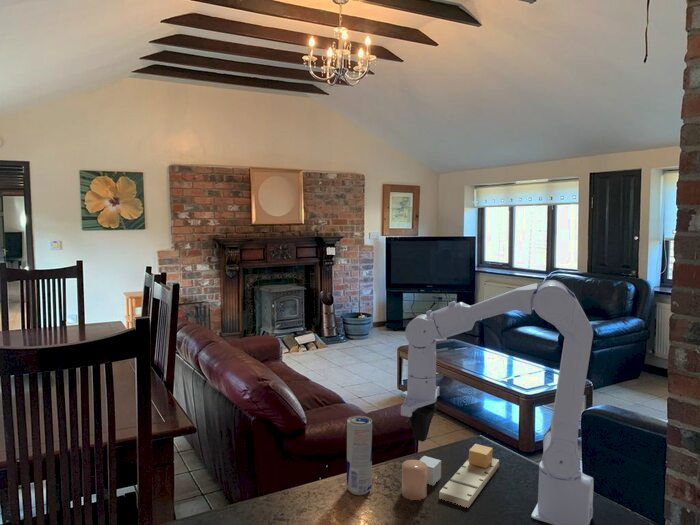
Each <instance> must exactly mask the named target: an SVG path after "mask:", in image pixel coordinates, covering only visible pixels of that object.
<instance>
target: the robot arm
mask: <svg viewBox="0 0 700 525" xmlns="http://www.w3.org/2000/svg"><path fill="white" fill-rule="evenodd" d="M447 305H448V306H445V307H441V308H439V309H436V310H433V311H432V309H430V310H429V309H428V310H427V311H425V314H424V313H423V314H419V315H417V316H415V318H413V319H411V321H410V322H409V323H407V325H406V328H405V331H404V332H405V338H406V340H407V342H408V351H407V386H406V387H407V390H405V391H403V392H402V393H401V396H402V398H403V397H404V401H403V403H402V404H401V405H400V416H402V417H407V418H408V420H409V421H410V425H411V430H412V435H413V438H414V440H416V441H420V442H424V441H426V440H427V439H428V435H429V431H430V426H431V423H432V420H433V418H434V415H435V413H436V411H437V409H438V404H436V402H437V400H438V399H437V398H438V397H439V396H440V386H437V385H436V384H437V340H444V339H447V338H450V337H453V336H456V335H459V334H462V333H465V332H469V331H472V330H473V328H474V326H475V323H476V322H478V321H481V320H485V319H488V318H492V317H495V316H498V315H504V314H506V313H509V312H513V311H519V312H521V313H525V314H529V315H532V311H533V309H534V311H535V313H536V314H537V315H538V316H539V318H541V319H543V320H545V321H546V322H548V323H550V324H551V325H553V326H554V327H555V328H556V330H558V332H559V333H560V334H561V335H562V336H563V337H564V338H563V339H564V340H563V345H562V346H563V347H562V352H561V358H560V365H559V373H558V377H557V385H556V390H555V391H556V392H555V397H554V404H553V409H552V410H553V411H552V416H551V419H550V424H549V427H548V428H547V430H545V432H544V433H543V436H542V444H543V445H542V446H543V447H542V448H543V452H542V458H541V461H540V462H539V465H538V467H539V468H538V487H537V488H538V489H537V490H538V491H537V492H538V493H537V495H538V496H537V503H536V505H535V507H534V509H533V511H532V513H531V515H530V516H531V518H532V519H534V520H537V521H540V522H544V523H547V524H550V525H590V523H591V520H592V519H593V516H594V506H593V503H594V502H593V501H594V480H595V479H594V477H592V476H590V475H587V474H585V473H584V472H582V470H581V459H580V455H579V448H578V447H579V427H580V426H579V425H580V419H581V412H582V407H583V400H584V395H585V394H584V393H585V387H586V382H587V375H588V370H589V362H590V359H591V358H590V357H591V350H592V344H593V338H594V329H593V327H592V324H591V322H590V321H589V319H588V317H587V315H586V313H585V311H584V309H583V308H582V306H581V304H580V302H579V300H578V299H577V297H576V294H575V293H574V292H573V291H571V290H570V289H569V288H568V287H567V286H566V284H564V283H563V282H561V281H559V280H555V279H548V280H545V281H543V282H541V283H540V284H539V283H538V282H537V283H531V284H528V285H524V286H520V287H516V288H514V289H511V290H509V291H507V292H503V293H500V294H497V295H495V296H493V297H490V298H487V299H485V300H482V301H479V302H476V303H474V304H471V305H470V304H467V303H465V302H463V301H459V302H456V301H455V300H453V301H450V302H449V303H448V304H447Z"/></svg>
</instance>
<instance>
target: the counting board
mask: <svg viewBox="0 0 700 525" xmlns="http://www.w3.org/2000/svg"><path fill="white" fill-rule="evenodd" d="M499 467H500V459H499V458H498V459H497V458H494V457H492V462H491V463H490V465H489V466H488V467H487V468H484V467H480V466H476V465H473V464H469V458H467V459H466V461H465V462H464V463H463V465H461V466H460V467H459V469H458V470H457V471H456V472H455V473H454V474H453V476H452V477H451V478H450V479H449V480H448V481H447V482H446V483H445V484H444V486H443V487H442V488H441V489H440V490H439V492H438V493H439V494H438V499H439V500H441V499H442V501H444V500H445V502H447V501H449V502H448V503H450V502H452V503H451V504H454V503H456V504H455V505H457V504H458V506H460V505H461V507H464V508H466V507H467V509H469V507H471V505H472V504H473V503H474V501H475V500H476V498H478V495H480V493H481V491H482V490H483V489H484V488H485V486H486V485H487V483H488V482H489V480H490V479H491V478H492V477H493V475H494V474H495V473H496V471H497V470H498V469H499Z"/></svg>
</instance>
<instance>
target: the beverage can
mask: <svg viewBox="0 0 700 525" xmlns="http://www.w3.org/2000/svg"><path fill="white" fill-rule="evenodd" d="M346 421H347V424H346V489H347V490H348V491H349V492H350V493H351V494H353V495H356V496H365V495H367V493H369V492H370V491H372V484H373V483H372V482H373V481H372V476H373V475H372V474H373V470H372V469H373V467H372V466H373V419H372V418H370V417H368V416H366V415H365V416H364V415H354V416H353V415H352V416H350V417H348V418H347V420H346Z"/></svg>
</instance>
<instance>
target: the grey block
mask: <svg viewBox="0 0 700 525" xmlns="http://www.w3.org/2000/svg"><path fill="white" fill-rule="evenodd" d="M419 461H422V462H424V463H426V465H427V485H428V484H429V486H431V485H432V487H434V486H435V485H436V484H437V483H438V481H440V480H441V478H442V460H440V459H437V458H434V457H430V456H426V455H423V456H422V457H421V458H420V459H419ZM436 482H437V483H436Z"/></svg>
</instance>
